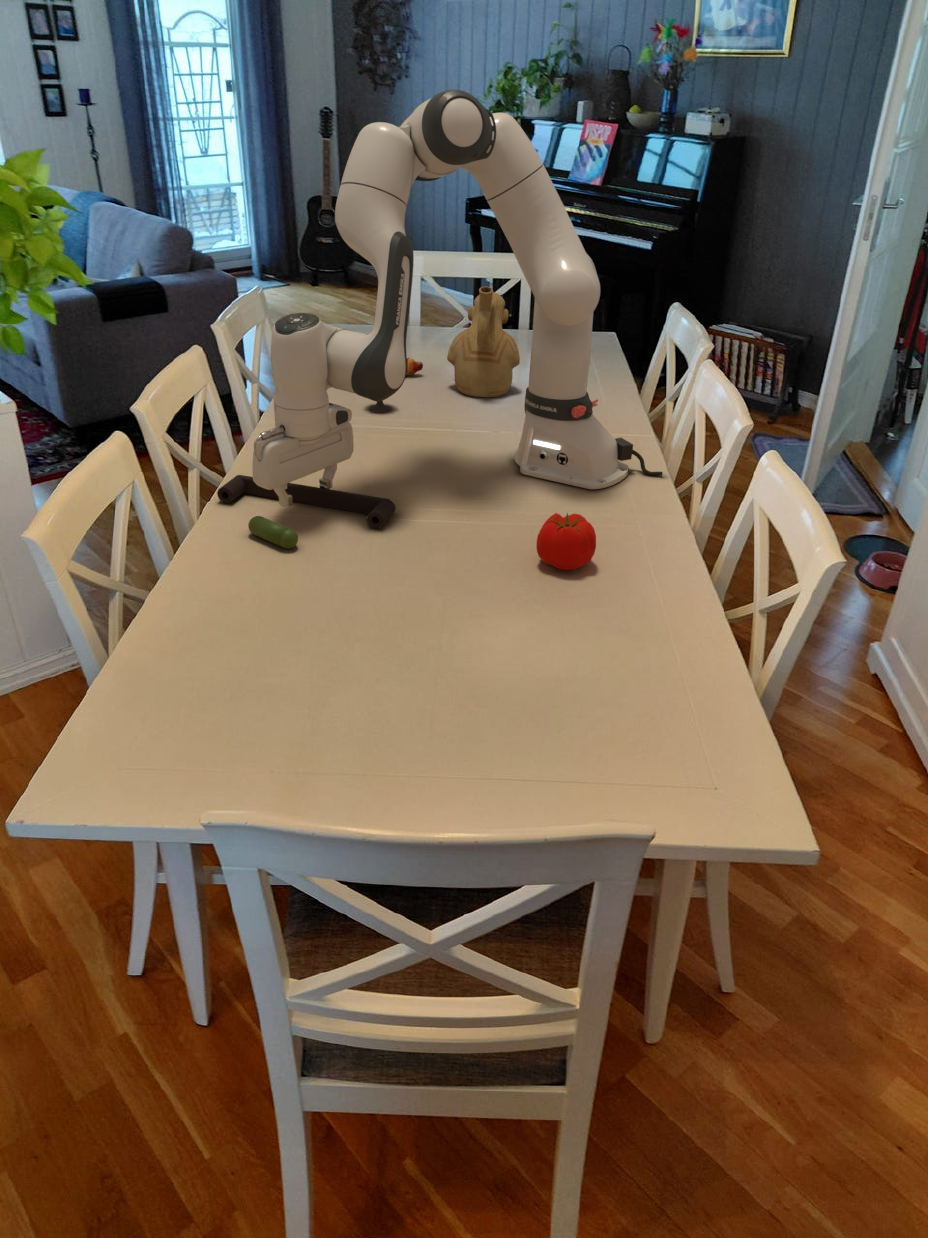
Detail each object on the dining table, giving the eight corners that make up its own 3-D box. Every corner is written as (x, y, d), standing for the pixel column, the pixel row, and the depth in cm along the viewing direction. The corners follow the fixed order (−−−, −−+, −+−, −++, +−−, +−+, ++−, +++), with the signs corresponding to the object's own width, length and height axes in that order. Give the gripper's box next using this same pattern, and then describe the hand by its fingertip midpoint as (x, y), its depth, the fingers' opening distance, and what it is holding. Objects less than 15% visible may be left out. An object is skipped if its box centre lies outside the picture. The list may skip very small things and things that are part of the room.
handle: (218, 502, 161) (216, 486, 160) (235, 488, 166) (233, 473, 165) (383, 530, 155) (383, 513, 153) (395, 515, 160) (396, 499, 158)
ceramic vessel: (519, 380, 229) (527, 273, 216) (514, 405, 212) (522, 292, 199) (451, 375, 230) (454, 269, 217) (440, 400, 213) (444, 286, 200)
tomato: (578, 547, 152) (583, 505, 148) (601, 573, 145) (607, 529, 141) (524, 553, 149) (528, 510, 145) (545, 579, 142) (550, 535, 138)
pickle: (302, 547, 148) (301, 529, 146) (288, 554, 146) (286, 535, 144) (259, 528, 153) (258, 510, 151) (244, 535, 151) (243, 517, 149)
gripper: (267, 440, 143) (273, 521, 150) (358, 408, 157) (360, 484, 164) (239, 430, 146) (247, 510, 153) (331, 400, 160) (334, 475, 168)
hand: (306, 497), depth 159 cm, fingers open, 8 cm apart
